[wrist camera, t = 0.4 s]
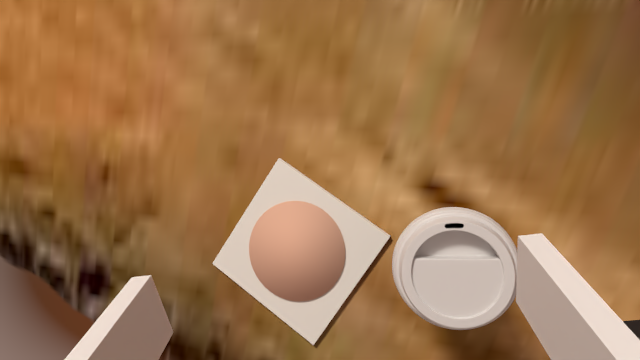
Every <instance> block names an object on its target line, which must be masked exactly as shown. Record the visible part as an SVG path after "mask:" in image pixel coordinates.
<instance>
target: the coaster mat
mask: <svg viewBox="0 0 640 360" xmlns="http://www.w3.org/2000/svg"><path fill="white" fill-rule="evenodd" d="M389 238H390V235H389V234H387V233H386V232H384V231H383V230H382V229H380V228H379V227H377V226H376V225H375V224H373V223H372V222H370V221H369V220H367V219H366V218H365V217H363V216H362V215H360V214H359V213H358V212H356V211H355V210H353V209H352V208H350V207H349V206H348V205H346V204H345V203H343V202H342V201H341V200H339V199H338V198H336V197H335V196H333V195H332V194H331V193H329V192H328V191H326V190H325V189H323V188H322V187H321V186H319V185H318V184H316V183H315V182H314V181H312V180H311V179H309V178H308V177H306V176H305V175H304V174H302V173H301V172H299V171H298V170H297V169H295V168H294V167H292V166H291V165H289V164H288V163H287V162H285V161H284V160H282V159H281V158H279V159H278V160H277V162H276V163H275V165H274V167H273V168H272V170H271V171H270V173H269V175H268V176H267V178H266V179H265V181H264V182H263V184H262V186H261V187H260V189H259V190H258V192H257V194H256V195H255V197H254V198H253V200H252V201H251V203H250V205H249V206H248V208H247V209H246V211H245V213H244V214H243V216H242V217H241V219H240V221H239V222H238V224H237V225H236V227H235V228H234V230H233V232H232V233H231V235H230V236H229V238H228V240H227V241H226V243H225V244H224V246H223V247H222V249H221V251H220V252H219V254H218V255H217V257H216V259H215V260H214V262H213V263H212V264H213V265H215V266H216V267H217V268H218V269H220V270H221V271H222V272H223V273H225V274H226V275H227V276H228V277H230V278H231V279H232V280H233V281H235V282H236V283H237V284H238V285H239V286H241V287H242V288H243V289H244V290H246V291H247V292H248V293H249V294H251V295H252V296H253V297H254V298H256V299H257V300H258V301H259V302H261V303H262V304H263V305H264V306H265V307H267V308H268V309H269V310H270V311H272V312H273V313H274V314H275V315H277V316H278V317H279V318H280V319H282V320H283V321H284V322H285V323H287V324H288V325H289V326H290V327H292V328H293V329H294V330H295V331H296V332H298V333H299V334H300V335H301V336H303V337H304V338H305V339H306V340H308V341H309V342H310V343H311V344H313V345H314V344H315V342H316V341H317V339H318V338H319V337H320V335H321V334H322V332H323V331H324V330H325V328H326V327H327V325H328V324H329V322H330V321H331V320H332V318H333V317H334V315H335V314H336V313H337V311H338V310H339V308H340V307H341V306H342V304H343V303H344V301H345V300H346V298H347V297H348V296H349V294H350V293H351V291H352V290H353V289H354V287H355V286H356V284H357V283H358V282H359V280H360V279H361V277H362V276H363V274H364V273H365V272H366V270H367V269H368V267H369V266H370V265H371V263H372V262H373V260H374V259H375V257H376V256H377V255H378V253H379V252H380V250H381V249H382V248H383V246H384V245H385V243H386V242H387V241H388V239H389Z"/></svg>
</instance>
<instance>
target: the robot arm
mask: <svg viewBox="0 0 640 360" xmlns="http://www.w3.org/2000/svg"><path fill="white" fill-rule="evenodd" d="M516 303H517V304H518V306H519V308H520V309H521V311H522V313H523V314H524V316H525V318H526V319H527V321H528V322H529V324H530V326H531V327H532V329H533V331H534V332H535V334H536V336H537V337H538V339H539V341H540V342H541V344H542V346H543V347H544V349H545V351H546V352H547V354H548V356H549V357H550V359H551V360H640V320H633V321H622V320H621V319H620V318H619V317H618V316H617V315H616V314H615V313H614V311H613V310H612V309H611V308H610V307H609V306H608V305H607V304H606V303H605V302H604V301H603V299H602V298H601V297H600V296H599V295H598V294H597V293H596V292H595V291H594V290H593V289H592V287H591V286H590V285H589V284H588V283H587V282H586V281H585V280H584V279H583V278H582V277H581V275H580V274H579V273H578V272H577V271H576V270H575V269H574V268H573V267H572V266H571V265H570V263H569V262H568V261H567V260H566V259H565V258H564V257H563V256H562V255H561V254H560V253H559V251H558V250H557V249H556V248H555V247H554V246H553V245H552V244H551V243H550V242H549V241H548V239H547V238H546V237H545V236H544V235H543V234H542V233H541V234H532V235H522V236H518V251H517V287H516ZM172 334H173V330H172V328H171V325H170V323H169V320H168V317H167V315H166V312H165V310H164V307H163V305H162V302H161V299H160V297H159V294H158V292H157V289H156V287H155V284H154V281H153V279H152V276H151V275H149V276H140V277H132V278H131V279H130V280H129V282H128V283H127V284H126V285H125V286H124V288H123V289H122V290H121V291H120V293H119V294H118V295H117V296H116V297H115V299H114V300H113V301H112V302H111V304H110V305H109V306H108V307H107V308H106V310H105V311H104V312H103V313H102V315H101V316H100V317H99V318H98V319H97V321H96V322H95V323H94V324H93V326H92V327H91V328H90V329H89V330H88V332H87V333H86V334H85V335H84V337H83V338H82V339H81V340H80V341H79V343H78V344H77V345H76V346H75V347H74V349H73V350H72V351H71V352H70V354H69V355H68V356H67V357H66V358H65V360H158V359H159V358H160V356H161V354H162V352H163V350H164V348H165V347H166V345H167V343H168V341H169V339H170V337H171V336H172Z"/></svg>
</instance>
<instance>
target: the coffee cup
mask: <svg viewBox="0 0 640 360" xmlns="http://www.w3.org/2000/svg"><path fill="white" fill-rule="evenodd" d="M392 271H393V277H394V281H395V284H396V287H397V289H398V291H399V293H400V295H401V297H402V298H403V300H404V301H405V303H406V304H407V305H408V306H409V307H410V308H411V309H412V310H413V311H414V312H415V313H416V314H417V315H418V316H420V317H421V318H423V319H424V320H426V321H428V322H430V323H432V324H434V325H436V326H439V327H443V328H447V329H453V330H468V329H474V328H478V327H482V326H484V325H487V324H489V323H491V322H493V321H494V320H496V319H497V318H499V317H500V316H501V315H502V314H503V313H504V312H505V311H506V310H507V309H508V308H509V307H510V305H511V304H512V302H513V301H514V299H515V297H516V287H517V249H516V246H515V244H514V242H513V241H512V239H511V237H510V236H509V235H508V233H507V232H506V231H505V230H504V229H503V228H502V227H501V226H500V225H499V224H498V223H497V222H495V221H494V220H493V219H491V218H490V217H488V216H486V215H484V214H482V213H480V212H477V211H474V210H471V209H467V208H460V207H446V208H439V209H435V210H432V211H429V212H427V213H425V214H423V215H421V216H419V217H418V218H416V219H415V220H414V221H412V222H411V223H410V224H409V225H408V226H407V227H406V228H405V230H404V231H403V232H402V234H401V235H400V237H399V239H398V241H397V243H396V246H395V249H394V252H393V259H392Z"/></svg>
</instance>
